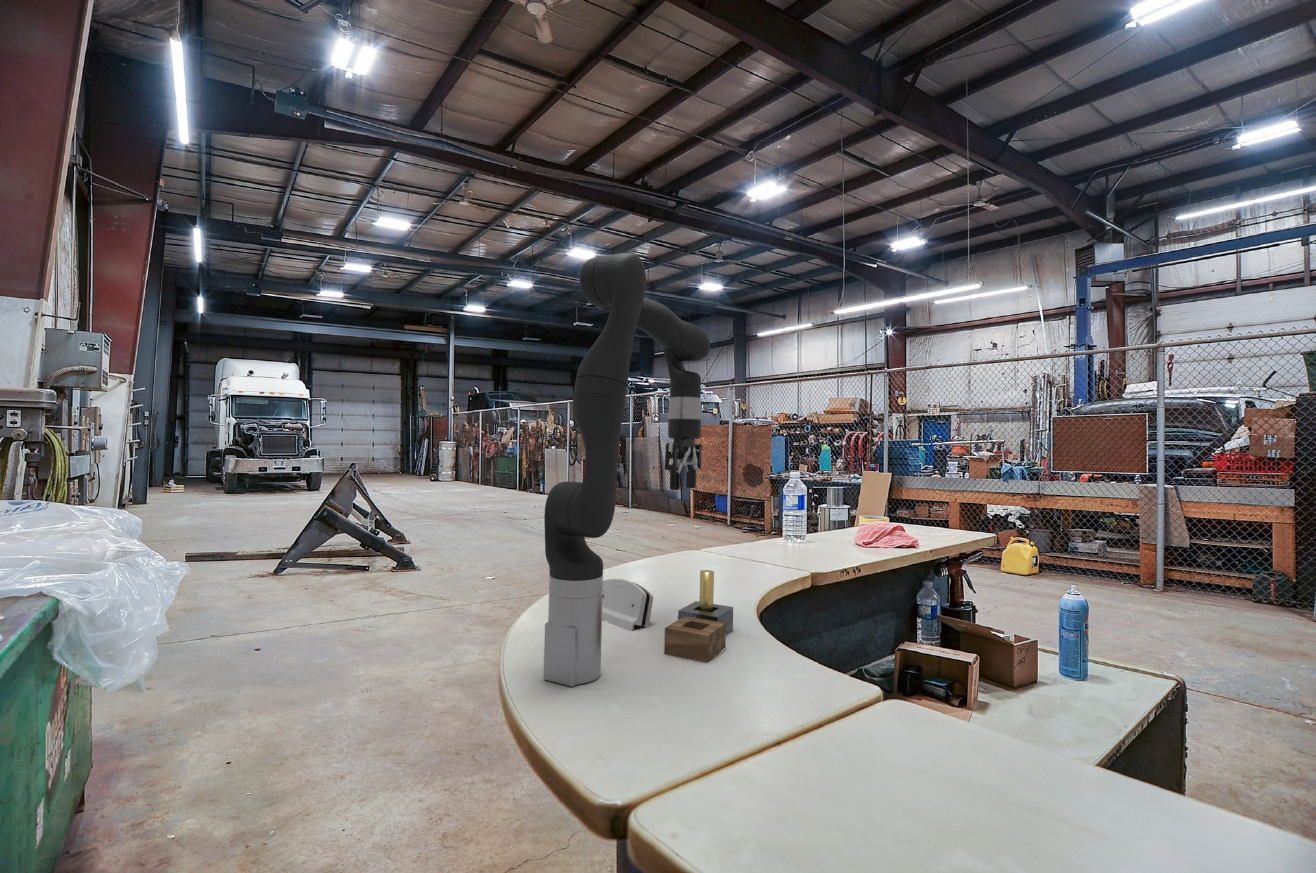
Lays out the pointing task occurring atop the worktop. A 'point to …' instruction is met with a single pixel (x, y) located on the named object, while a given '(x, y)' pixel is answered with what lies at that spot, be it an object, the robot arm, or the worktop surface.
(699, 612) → the socket block
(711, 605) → the pin
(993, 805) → the worktop surface
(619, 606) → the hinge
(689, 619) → the mount
